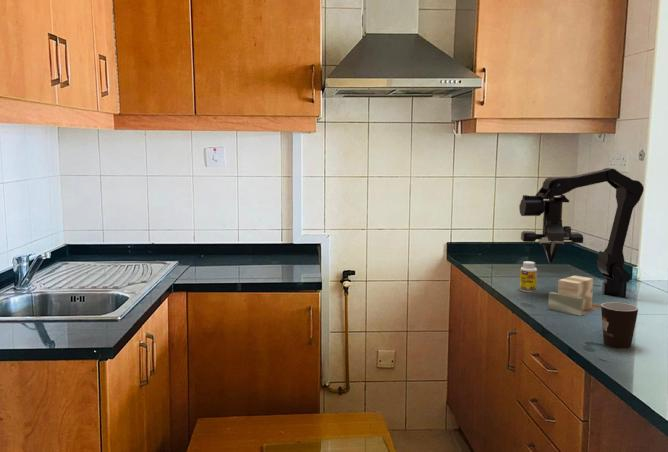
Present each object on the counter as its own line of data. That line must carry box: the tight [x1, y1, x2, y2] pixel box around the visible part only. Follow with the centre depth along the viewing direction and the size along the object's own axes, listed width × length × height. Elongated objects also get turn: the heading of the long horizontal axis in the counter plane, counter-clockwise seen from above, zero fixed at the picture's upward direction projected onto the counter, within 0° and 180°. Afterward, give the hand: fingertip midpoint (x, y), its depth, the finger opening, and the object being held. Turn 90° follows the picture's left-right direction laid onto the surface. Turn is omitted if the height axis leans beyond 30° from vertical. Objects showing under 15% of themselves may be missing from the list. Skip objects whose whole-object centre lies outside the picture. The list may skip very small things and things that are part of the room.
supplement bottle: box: [519, 260, 538, 293], centre depth 212 cm, size 6×6×10 cm
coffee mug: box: [600, 301, 639, 350], centre depth 157 cm, size 12×9×10 cm
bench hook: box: [547, 291, 601, 317], centre depth 186 cm, size 16×10×6 cm, turn 132°
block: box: [557, 275, 594, 311], centre depth 184 cm, size 10×6×9 cm, turn 132°
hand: (550, 262), depth 201 cm, fingers closed
